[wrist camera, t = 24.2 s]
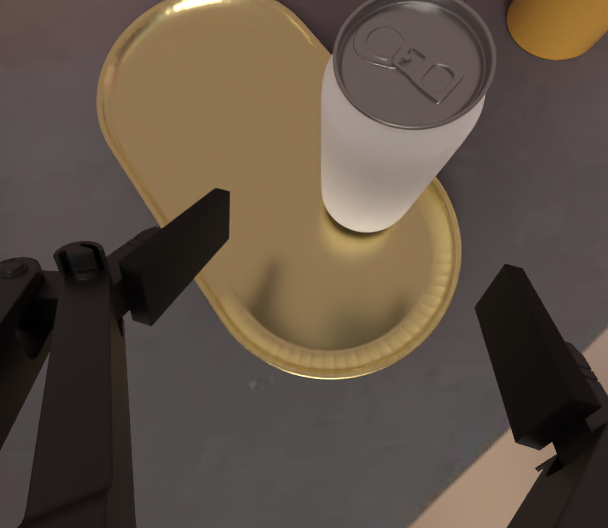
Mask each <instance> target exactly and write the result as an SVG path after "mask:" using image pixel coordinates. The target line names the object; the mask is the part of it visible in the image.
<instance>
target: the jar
mask: <svg viewBox="0 0 608 528" xmlns="http://www.w3.org/2000/svg"><path fill="white" fill-rule="evenodd" d="M507 26H508V30H509V32H510V34H511V36H512V38H513V39H514V40H515V42H516V43H517V44H518V45H519V46H520V47H521V48H523V49H524V50H525V51H527V52H529V53H530V54H532V55H535V56H537V57H540V58H544V59H549V60H565V59H570V58H574V57H577V56H579V55H581V54H583V53H585V52H587V51H588V50H589V49H591V48H592V47H593V46H594V45H595V44H596V43H597V42H598V41H599V40H600V39H601V38H602V37H603V36H604V35H605V34H606V33H607V32H608V0H512V2H511V3H510V6H509V8H508V12H507Z"/></svg>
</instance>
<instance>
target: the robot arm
mask: <svg viewBox="0 0 608 528" xmlns="http://www.w3.org/2000/svg"><path fill="white" fill-rule="evenodd" d="M229 225H230V191H227V190H223V189H219V188H214V189H213V190H212V191H210V192H209V193H208V194H206V195H205V196H204V197H202V198H201V199H200V200H199V201H197V202H196V203H195V204H193V205H192V206H191V207H189V208H188V209H187V210H185V211H184V212H183V213H181V214H180V215H179V216H177V217H176V218H175V219H174V220H172V221H171V222H170V223H168V224H167V225H166V226H164V227H163V228H159V227H153V228H150V229H147V230H144V231H142V232H141V233H139V234H138V235H137V236H135V237H134V239H131V240H130V241H128V242H127V243H126V244H124V245H123V246H121V247H120V248H118V249H117V250H116V251H114V252H113V253H111V254H110V255H109V256H107V257H106V256H105V252H104V249H103V247H102V246H101V245H100V244H98V243H95V242H91V241H80V242H74V243H70V244H67V245H65V246H62V247H61V248H59V249H58V250H57V251H56V252H55V254H54V255H53V257H54V259H55V262H56V264H57V267H58V269H59V271H42V269H41V266H40V264H39V262H38V261H37V260H35V259H33V258H26V257H20V258H12V259H7V260H4V261H2V262H0V450H1V448H2V446H3V444H4V442H5V440H6V438H7V436H8V434H9V432H10V430H11V428H12V426H13V424H14V422H15V420H16V418H17V416H18V414H19V412H20V410H21V408H22V406H23V404H24V402H25V400H26V398H27V396H28V394H29V392H30V390H31V388H32V386H33V384H34V382H35V380H36V378H37V376H38V374H39V372H40V370H41V368H42V366H43V364H44V362H45V360H46V358H47V356H48V354H49V352H50V355H49V362H48V369H47V375H46V382H45V388H44V395H43V401H42V408H41V414H40V421H39V428H38V434H37V441H36V447H35V454H34V460H33V467H32V473H31V480H30V487H29V493H28V500H27V506H26V511H25V516H24V519H23V521H22V523H21V524H20V525H19V526H18V527H17V528H136V519H135V503H134V485H133V468H132V450H131V433H130V416H129V398H128V381H127V363H126V346H125V329H124V320H123V316H124V315H125V314H126V313H127V312H128V311H129V310H130V311H131V315H132V319H133V320H134V321H137V322H140V323H143V324H146V325H149V326H152V325H153V324H154V323H155V322H156V321H157V319H158V318H159V317H160V316H161V315H162V314H163V313H164V312H165V310H166V309H167V308H168V307H169V306H170V305H171V304H172V303H173V301H174V300H175V299H176V298H177V297H178V296H179V295H180V294H181V292H182V291H183V290H184V289H185V288H186V287H187V286H188V285H189V283H190V282H191V281H192V280H193V279H194V278H195V277H196V276H197V274H198V273H199V272H200V271H201V270H202V269H203V268H204V266H205V265H206V264H207V263H208V262H209V261H210V260H211V259H212V257H213V256H214V255H215V254H216V253H217V252H218V251H219V250H220V248H221V247H222V246H223V245H224V244H225V243H226V242H227V241H228V239H229ZM475 310H476V314H477V317H478V320H479V324H480V327H481V330H482V333H483V337H484V340H485V343H486V347H487V350H488V353H489V357H490V360H491V363H492V367H493V370H494V373H495V376H496V380H497V383H498V386H499V390H500V393H501V396H502V400H503V403H504V406H505V410H506V413H507V416H508V419H509V423H510V426H511V429H512V433H513V436H514V439H515V442H516V443H518V444H522V445H525V446H528V447H531V448H534V449H537V450H541V449H542V448H544V447H545V446H547V445H548V444H550V443H551V442H553V445H554V447H555V450H556V452H557V454H556V455H555V456H553V457H552V458H550V459H548V460H547V461H546V462H544V463H542V464H541V465H539V466H538V467H536V468H535V469H536V470H537V471H538V472H539V471H540V470H542V469H543V471H542V472H541V474H540V475H539V477H538V478H537V480H536V482H535V483H534V485H533V487H532V488H531V490H530V491H529V493H528V494H527V496H526V498H525V499H524V501H523V503H522V504H521V506H520V507H519V509H518V511H517V512H516V514H515V515H514V517H513V519H512V520H511V522H510V524H509V525H508V527H507V528H608V395H607V394H606V392H605V391H604V389H603V387H602V386H601V384H600V383H599V382H597V380H598V379H597V377H596V376H595V374H594V372H592V371H591V368H590V366H589V364H588V363H587V361H586V359H585V358H584V356H583V355H582V354H581V353H580V352H579V351H578V350H577V349H576V348H575V347H574V346H573V345H572V344H571V343H568V342H565V341H564V340H563V338H562V336H561V334H560V333H559V331H558V329H557V327H556V326H555V324H554V322H553V321H552V319H551V317H550V315H549V314H548V312H547V310H546V308H545V307H544V305H543V303H542V301H541V300H540V298H539V296H538V294H537V293H536V291H535V289H534V288H533V286H532V284H531V282H530V281H529V279H528V277H527V275H526V274H525V272H524V270H523V268H519V267H515V266H511V265H507V264H504V266H503V267H502V269H501V270H500V272H499V273H498V274H497V276H496V277H495V279H494V280H493V282H492V283H491V285H490V286H489V287H488V289H487V290H486V292H485V293H484V295H483V296H482V297H481V299H480V300H479V302H478V303H477V305H476V306H475Z"/></svg>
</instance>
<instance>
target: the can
mask: <svg viewBox="0 0 608 528" xmlns="http://www.w3.org/2000/svg"><path fill="white" fill-rule="evenodd" d="M495 69H496V48H495V44H494V40H493V37H492V35H491V32H490V30H489V28H488V27H487V25H486V23H485V22H484V21H483V19H482V18H481V17H480V16H479V15H478V13H477V12H476V11H475V10H473V9H472V8H471V7H470V6H469V5H467V4H466V3H464V2H463V1H461V0H368V1H366V2H365V3H363V4H362V5H360V6H359V7H358V8H357V9H356V10H354V11H353V12H352V13H351V15H350V16H349V17H348V18H347V19H346V21H345V22H344V23H343V25H342V27H341V28H340V30H339V32H338V35H337V37H336V40H335V44H334V48H333V54H332V56H331V57H330V59H329V62H328V64H327V66H326V69H325V72H324V76H323V82H322V89H321V191H322V198H323V202H324V205H325V207H326V209H327V211H328V212H329V214H330V215H331V216H332V217H333V218H334V219H335V220H336V221H337V222H338V223H339V224H341V225H342V226H344V227H346V228H348V229H351V230H354V231H358V232H376V231H380V230H383V229H386V228H388V227H390V226H391V225H393V224H394V223H396V222H397V221H398V220H399V219H400V218H401V217H402V216H403V215H404V214H405V213H406V212H407V210H408V209H409V208H410V207H411V206H412V204H413V203H414V202H415V201H416V200H417V198H418V197H419V196H420V195H421V193H422V192H423V191H424V190H425V189H426V187H427V186H428V185H429V184H430V182H431V181H432V180H433V179H434V178H435V176H436V175H437V174H438V173H439V171H440V170H441V169H442V168H443V166H444V165H445V164H446V163H447V161H448V160H449V159H450V158H451V157H452V155H453V154H454V153H455V151H456V150H457V149H458V148H459V146H460V145H461V144H462V143H463V141H464V140H465V139H466V137H467V136H468V135H469V133H470V132H471V130H472V129H473V127H474V125H475V124H476V122H477V120H478V118H479V116H480V114H481V111H482V108H483V104H484V99H485V94H486V92H487V91H488V89H489V87H490V85H491V83H492V80H493V77H494V73H495Z"/></svg>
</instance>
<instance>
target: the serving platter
mask: <svg viewBox="0 0 608 528" xmlns="http://www.w3.org/2000/svg"><path fill="white" fill-rule="evenodd" d="M331 56H332V55H331V54H330V53H329V52H328V51H327V49H326V48H325V47H324V46H323V45H322V44H321V43H320V41H319V40H318V39H317V38H316V37H315V36H314V34H313V33H312V32H311V31H310V30H309V29H308V28H307V26H306V25H305V24H304V23H303V22H302V21H301V20H300V19H299V18H298V17H297V16H296V15H295V14H294V13H293V12H292V11H291V10H289V9H288V8H287V7H285V6H284V5H282V4H281V3H279V2H278V1H276V0H165V1H163V2H161V3H159V4H157V5H156V6H154V7H152V8H151V9H149V10H148V11H146V12H145V13H143V14H142V15H141V16H140V17H138V18H137V19H136V20H135V21H134V22H133V23H132V24H131V25H130V26H129V27H128V28H127V29H126V30H125V31H124V32H123V33H122V34H121V36H120V37H119V38H118V40H117V41H116V42H115V44H114V45H113V47H112V49H111V50H110V52H109V54H108V56H107V58H106V60H105V62H104V65H103V68H102V70H101V74H100V78H99V82H98V88H97V100H96V101H97V114H98V120H99V124H100V127H101V131H102V133H103V136H104V138H105V140H106V142H107V144H108V146H109V148H110V149H111V151H112V152H113V154H114V156H115V157H116V159H117V160H118V162H119V163H120V165H121V166H122V168H123V170H124V171H125V173H126V174H127V176H128V177H129V179H130V180H131V182H132V184H133V185H134V187H135V188H136V190H137V191H138V193H139V194H140V196H141V197H142V199H143V201H144V202H145V204H146V205H147V207H148V208H149V210H150V211H151V213H152V215H153V216H154V218H155V219H156V221H157V222H158V224H159V225H160V227H161V228H163V227H164V226H166V225H167V224H168V223H170V222H171V221H172V220H174V219H175V218H176V217H177V216H179V215H180V214H181V213H183V212H184V211H185V210H187V209H188V208H189V207H191V206H192V205H193V204H195V203H196V202H197V201H199V200H200V199H201V198H202V197H204V196H205V195H206V194H208V193H209V192H210V191H212V190H213V189H214V188H219V189H223V190H227V191H230V225H229V239H228V241H227V242H226V243H225V244H224V245H223V246H222V247H221V248H220V250H219V251H218V252H217V253H216V254H215V255H214V256H213V257H212V259H211V260H210V261H209V262H208V263H207V264H206V265H205V266H204V268H203V269H202V270H201V271H200V272H199V273H198V274H197V276H196V277H195V278H194V280H195V281H196V283H197V285H198V286H199V288H200V289H201V291H202V292H203V294H204V295H205V297H206V299H207V300H208V302H209V303H210V305H211V306H212V308H213V309H214V311H215V312H216V314H217V316H218V317H219V319H220V320H221V322H222V323H223V325H224V326H225V327H226V329H227V330H228V331H229V332H230V334H231V335H232V336H233V337H234V338H235V339H236V340H237V341H238V342H239V343H240V344H241V345H242V346H243V347H245V348H246V349H247V350H248V351H249V352H251V353H252V354H253V355H255V356H256V357H258V358H259V359H261V360H263V361H264V362H266V363H268V364H269V365H272V366H274V367H276V368H278V369H280V370H283V371H286V372H289V373H292V374H295V375H299V376H304V377H308V378H316V379H347V378H353V377H359V376H363V375H367V374H370V373H373V372H376V371H379V370H381V369H384V368H386V367H388V366H390V365H392V364H394V363H396V362H398V361H400V360H401V359H403V358H404V357H406V356H407V355H409V354H410V353H411V352H413V351H414V350H415V349H416V348H417V347H419V346H420V345H421V344H422V343H423V342H424V341H425V340H426V339H427V338H428V337H429V336H430V335H431V333H432V332H433V331H434V330H435V328H436V327H437V326H438V324H439V323H440V321H441V320H442V318H443V317H444V315H445V313H446V311H447V309H448V307H449V305H450V303H451V301H452V299H453V296H454V293H455V291H456V287H457V283H458V280H459V275H460V268H461V256H462V248H461V236H460V229H459V224H458V221H457V217H456V213H455V211H454V208H453V205H452V203H451V201H450V199H449V196H448V194H447V192H446V191H445V189H444V187H443V186H442V184H441V182H440V181H439V180H438V178H437V177H436V176H435V178H434V179H433V180H432V181H431V182H430V184H429V185H428V186H427V187H426V189H425V190H424V191H423V192H422V193H421V195H420V196H419V197H418V198H417V200H416V201H415V202H414V203H413V204H412V206H411V207H410V208H409V209H408V210H407V212H406V213H405V214H404V215H403V216H402V217H401V218H400V219H399V220H398V221H397V222H396V223H394V224H393V225H391V226H390V227H388V228H386V229H383V230H380V231H376V232H358V231H354V230H351V229H348V228H346V227H344V226H342V225H341V224H339V223H338V222H337V221H336V220H335V219H334V218H333V217H332V216H331V215H330V214H329V212H328V211H327V209H326V207H325V205H324V202H323V198H322V191H321V89H322V82H323V76H324V72H325V69H326V66H327V64H328V62H329V59H330V57H331Z"/></svg>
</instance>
